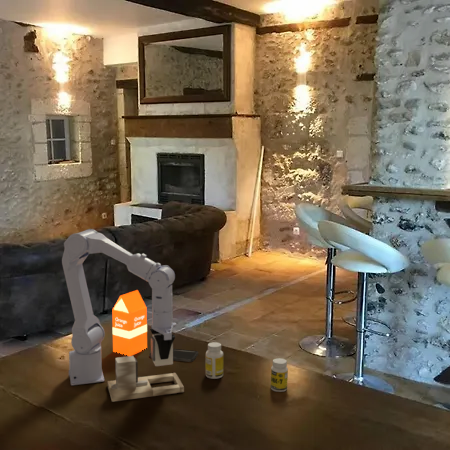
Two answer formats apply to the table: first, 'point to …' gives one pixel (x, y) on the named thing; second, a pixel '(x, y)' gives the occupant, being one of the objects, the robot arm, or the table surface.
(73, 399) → the table surface
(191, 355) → the phone
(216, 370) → the supplement bottle
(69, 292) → the robot arm
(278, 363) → the supplement bottle
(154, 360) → the off-white rectangular block
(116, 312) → the orange juice
